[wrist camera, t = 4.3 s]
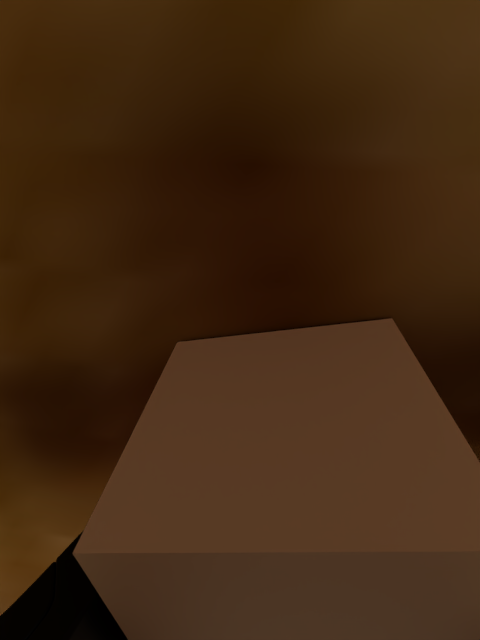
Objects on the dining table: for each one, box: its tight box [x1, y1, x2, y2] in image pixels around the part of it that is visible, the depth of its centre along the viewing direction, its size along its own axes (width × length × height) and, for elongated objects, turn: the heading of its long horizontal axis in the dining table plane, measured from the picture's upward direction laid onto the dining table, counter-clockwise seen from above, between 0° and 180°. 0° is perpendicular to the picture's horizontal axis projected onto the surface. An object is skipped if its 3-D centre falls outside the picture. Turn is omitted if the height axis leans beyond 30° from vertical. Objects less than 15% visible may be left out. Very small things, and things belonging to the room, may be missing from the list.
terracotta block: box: [73, 318, 480, 640], centre depth 7 cm, size 5×5×5 cm
